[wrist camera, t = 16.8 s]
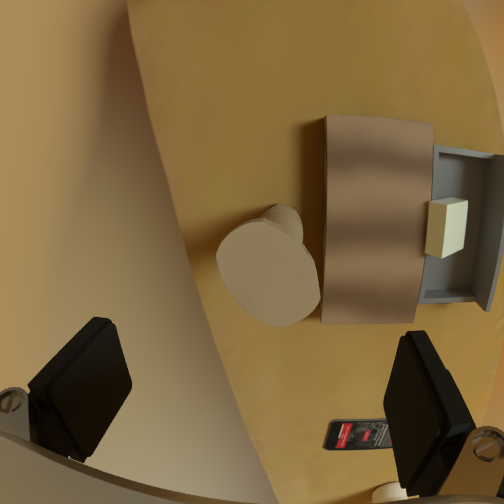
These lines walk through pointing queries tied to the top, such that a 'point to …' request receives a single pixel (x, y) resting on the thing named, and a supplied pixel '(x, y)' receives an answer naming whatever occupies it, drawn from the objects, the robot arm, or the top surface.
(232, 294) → the handle
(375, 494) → the water bottle
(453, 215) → the tile
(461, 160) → the box
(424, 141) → the board
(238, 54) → the top surface
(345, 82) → the top surface
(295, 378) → the top surface
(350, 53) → the top surface
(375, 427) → the smartphone
